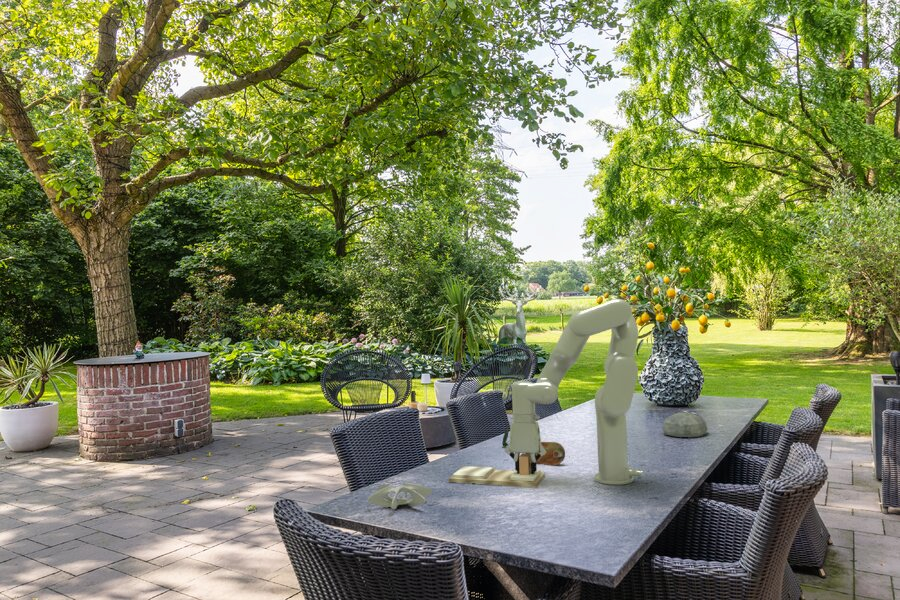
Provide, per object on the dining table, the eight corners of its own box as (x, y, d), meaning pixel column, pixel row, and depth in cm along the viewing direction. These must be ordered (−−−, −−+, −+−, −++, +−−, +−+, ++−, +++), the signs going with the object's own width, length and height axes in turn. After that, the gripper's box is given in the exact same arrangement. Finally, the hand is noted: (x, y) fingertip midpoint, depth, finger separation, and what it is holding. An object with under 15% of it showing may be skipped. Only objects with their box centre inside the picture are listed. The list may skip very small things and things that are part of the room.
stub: (540, 472, 213) (539, 451, 214) (533, 481, 202) (532, 459, 202) (518, 471, 216) (517, 450, 216) (510, 480, 205) (509, 458, 205)
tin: (525, 463, 234) (524, 440, 234) (528, 461, 237) (527, 439, 237) (564, 466, 227) (563, 443, 227) (566, 464, 230) (565, 441, 230)
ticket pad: (544, 476, 214) (544, 469, 214) (536, 487, 201) (536, 479, 201) (461, 472, 224) (461, 465, 224) (449, 482, 210) (448, 474, 211)
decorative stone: (653, 434, 279) (652, 412, 279) (686, 429, 288) (685, 407, 289) (684, 441, 263) (683, 417, 264) (718, 435, 273) (717, 412, 273)
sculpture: (397, 493, 200) (396, 473, 200) (444, 504, 187) (444, 482, 188) (356, 508, 186) (355, 486, 187) (404, 520, 174) (404, 497, 174)
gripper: (551, 417, 210) (552, 471, 210) (502, 416, 216) (504, 469, 215) (546, 421, 203) (548, 477, 203) (497, 419, 209) (498, 474, 208)
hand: (526, 472), depth 209 cm, fingers open, 4 cm apart
